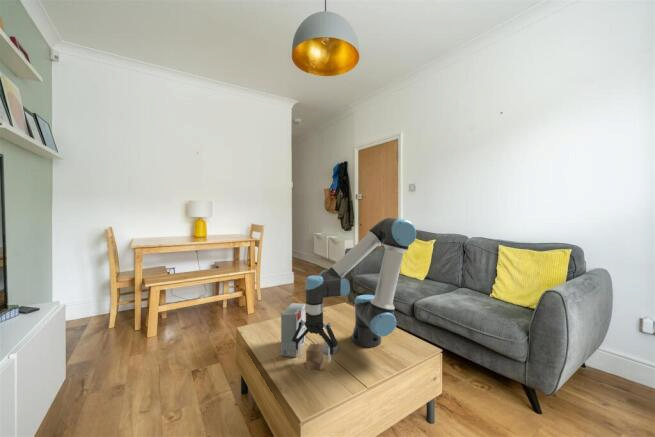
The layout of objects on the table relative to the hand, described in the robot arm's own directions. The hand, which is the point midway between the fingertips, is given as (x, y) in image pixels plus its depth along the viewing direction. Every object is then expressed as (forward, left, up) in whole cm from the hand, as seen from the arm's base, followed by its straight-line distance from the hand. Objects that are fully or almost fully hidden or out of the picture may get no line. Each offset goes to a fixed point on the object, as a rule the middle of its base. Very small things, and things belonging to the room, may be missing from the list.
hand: (314, 359), depth 118 cm
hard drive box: (+14, -11, -3) cm, 18 cm away
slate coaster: (-3, -14, -3) cm, 15 cm away
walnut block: (0, 0, -3) cm, 3 cm away
